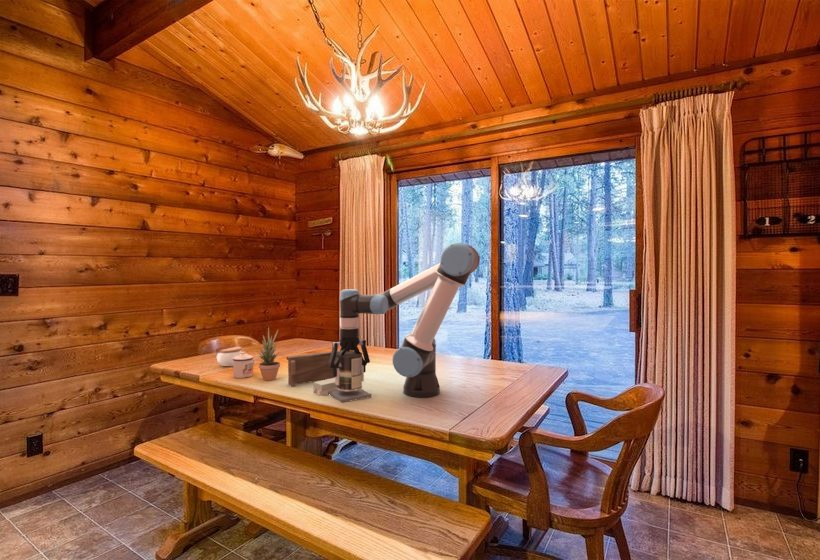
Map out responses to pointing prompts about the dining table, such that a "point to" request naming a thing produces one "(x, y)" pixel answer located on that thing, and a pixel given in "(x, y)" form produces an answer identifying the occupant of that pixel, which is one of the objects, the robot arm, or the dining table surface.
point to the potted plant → (269, 359)
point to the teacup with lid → (243, 365)
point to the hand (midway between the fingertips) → (349, 382)
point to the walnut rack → (309, 368)
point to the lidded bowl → (227, 354)
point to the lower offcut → (323, 391)
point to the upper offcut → (325, 384)
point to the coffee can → (350, 371)
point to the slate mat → (349, 395)
